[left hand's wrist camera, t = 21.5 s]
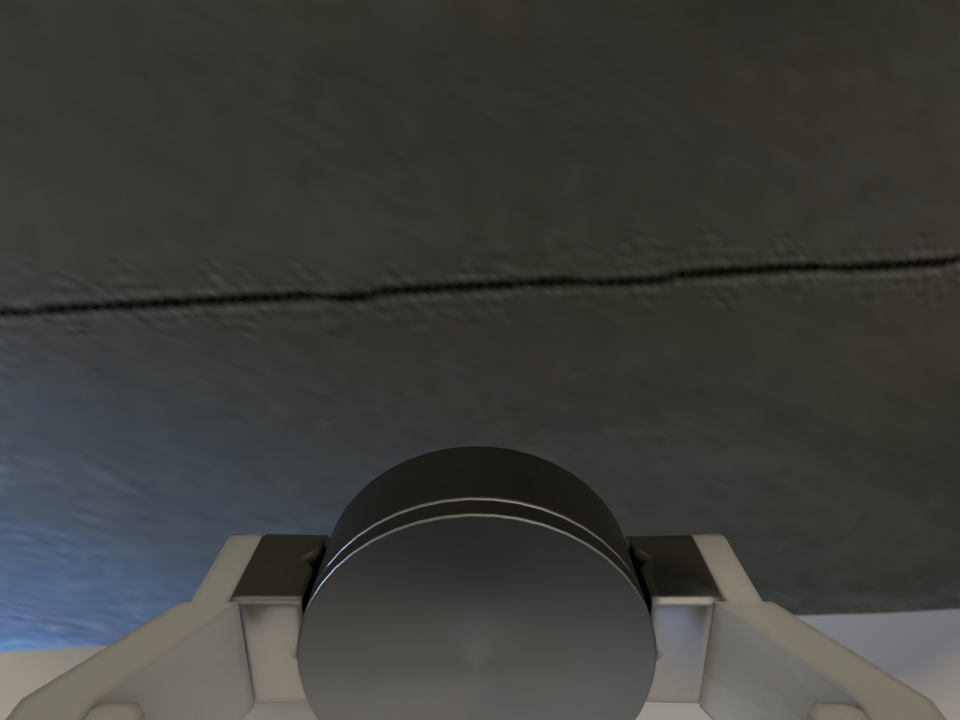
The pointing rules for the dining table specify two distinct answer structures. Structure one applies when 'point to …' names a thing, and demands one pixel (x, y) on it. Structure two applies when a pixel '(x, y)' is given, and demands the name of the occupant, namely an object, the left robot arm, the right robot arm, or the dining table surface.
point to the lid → (476, 598)
